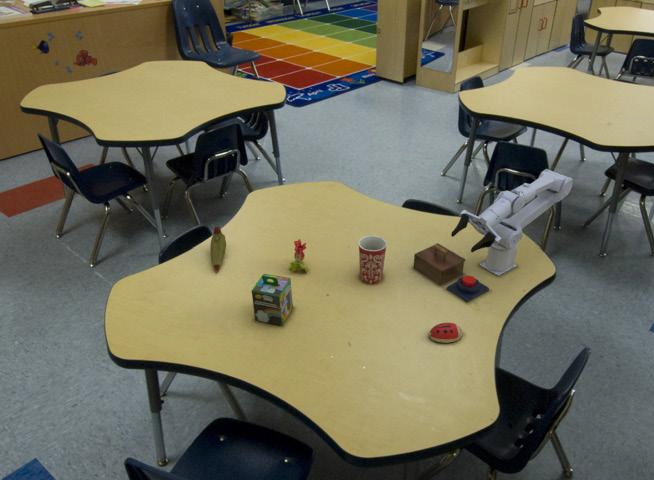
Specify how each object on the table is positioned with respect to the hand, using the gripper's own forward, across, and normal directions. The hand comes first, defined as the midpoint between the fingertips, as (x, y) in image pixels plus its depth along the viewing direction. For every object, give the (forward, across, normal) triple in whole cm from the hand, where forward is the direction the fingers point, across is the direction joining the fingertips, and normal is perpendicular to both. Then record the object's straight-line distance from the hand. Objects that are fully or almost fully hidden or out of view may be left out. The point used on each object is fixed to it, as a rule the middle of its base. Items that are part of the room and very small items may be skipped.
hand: (462, 242), depth 176 cm
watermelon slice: (+23, +16, +8) cm, 29 cm away
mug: (+19, -18, +20) cm, 33 cm away
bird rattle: (+35, -37, +22) cm, 55 cm away
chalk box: (+55, -24, +11) cm, 61 cm away
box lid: (0, -6, +16) cm, 17 cm away
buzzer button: (+1, +7, +14) cm, 16 cm away
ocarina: (+52, -60, +24) cm, 83 cm away
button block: (+2, +8, +16) cm, 18 cm away
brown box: (+2, -4, +21) cm, 21 cm away
